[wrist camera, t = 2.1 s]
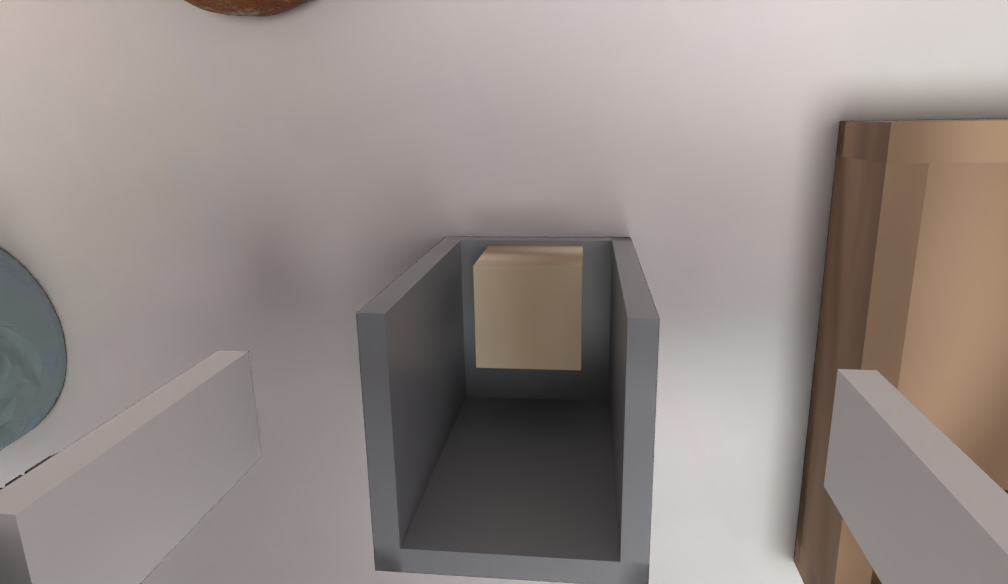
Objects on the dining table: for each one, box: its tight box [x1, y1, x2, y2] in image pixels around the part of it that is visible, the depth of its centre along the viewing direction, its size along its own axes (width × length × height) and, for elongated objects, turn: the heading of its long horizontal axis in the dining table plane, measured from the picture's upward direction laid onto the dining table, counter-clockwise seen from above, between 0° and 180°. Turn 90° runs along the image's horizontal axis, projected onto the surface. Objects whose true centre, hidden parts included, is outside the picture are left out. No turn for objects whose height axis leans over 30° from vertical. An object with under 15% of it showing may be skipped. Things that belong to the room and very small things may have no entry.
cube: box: [473, 246, 583, 370], centre depth 20 cm, size 3×3×3 cm
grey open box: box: [356, 237, 660, 584], centre depth 18 cm, size 6×6×9 cm
